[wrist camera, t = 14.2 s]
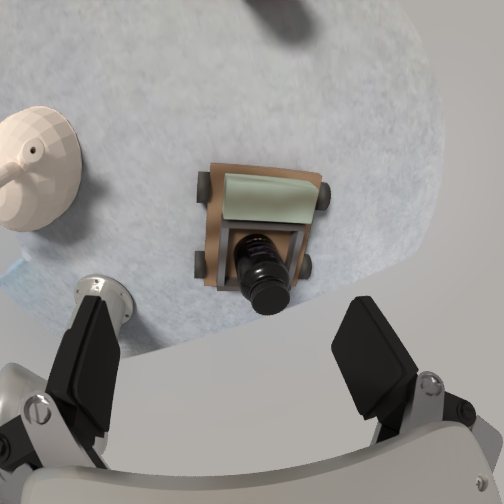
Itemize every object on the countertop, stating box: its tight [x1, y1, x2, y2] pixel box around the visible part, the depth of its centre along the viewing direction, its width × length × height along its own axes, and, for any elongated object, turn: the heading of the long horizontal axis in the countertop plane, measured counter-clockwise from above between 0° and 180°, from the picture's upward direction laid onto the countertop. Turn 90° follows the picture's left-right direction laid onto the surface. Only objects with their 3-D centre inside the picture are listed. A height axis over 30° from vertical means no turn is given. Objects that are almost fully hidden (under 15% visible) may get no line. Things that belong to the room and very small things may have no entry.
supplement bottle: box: [233, 234, 290, 315], centre depth 38 cm, size 7×7×12 cm
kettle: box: [0, 106, 82, 232], centre depth 24 cm, size 20×21×18 cm
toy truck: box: [194, 163, 331, 291], centre depth 41 cm, size 20×19×7 cm
